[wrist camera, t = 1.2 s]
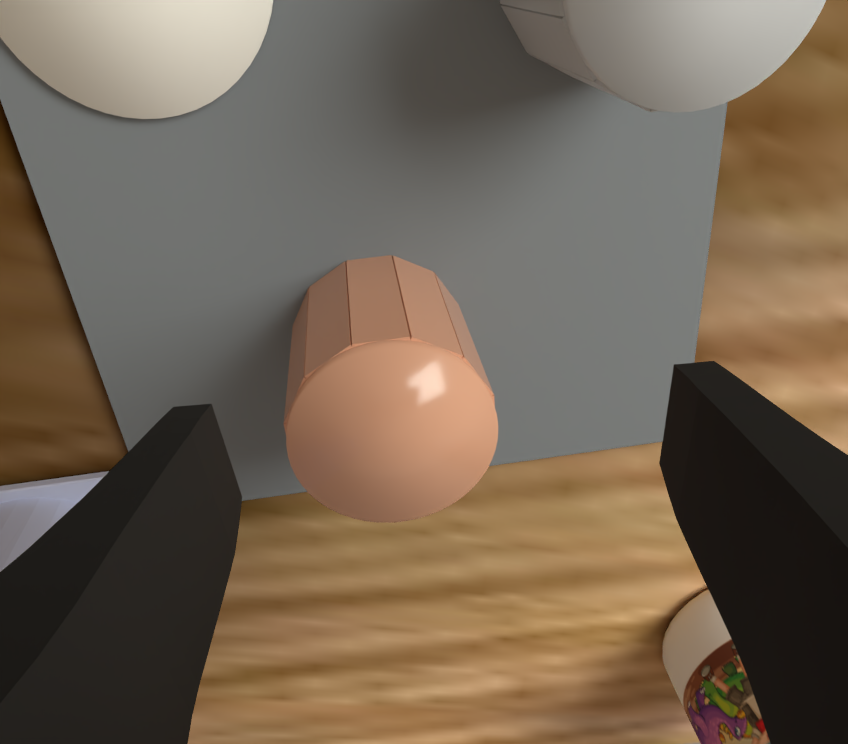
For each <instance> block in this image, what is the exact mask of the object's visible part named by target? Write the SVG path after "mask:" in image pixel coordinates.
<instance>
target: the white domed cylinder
mask: <svg viewBox="0 0 848 744" xmlns="http://www.w3.org/2000/svg"><path fill="white" fill-rule="evenodd" d="M825 1H826V0H500V4H502V5H501V7H502V9H503V11H504V13H505V14H506V16H507V18H508V20H509V21H510V23H511V25H512V27H513V29H514V30H515V32H516V34H517V36H518V38H519V39H520V41H521V43H522V45H523V47H524V48H525V50H526V52H527V53H528V54H529V55H531V56H533V57H535V58H537V59H539V60H541V61H543V62H544V63H546V64H548V65H550V66H552V67H554V68H556V69H558V70H559V71H561V72H563V73H565V74H567V75H569V76H571V77H573V78H575V79H577V80H580V81H582V82H584V83H586V84H589V85H591V86H593V87H595V88H597V89H600V90H602V91H604V92H606V93H609V94H611V95H613V96H615V97H618V98H620V99H622V100H624V101H626V102H629V103H631V104H633V105H635V106H638V107H640V108H642V109H644V110H646V111H650V112H655V111H666V112H692V111H698V110H703V109H708V108H711V107H715V106H718V105H721V104H724V103H726V102H728V101H730V100H733V99H735V98H737V97H739V96H741V95H743V94H744V93H746V92H748V91H749V90H751V89H753V88H754V87H756V86H757V85H758V84H760V83H761V82H762V81H764V80H765V79H766V78H768V77H769V76H770V75H771V74H772V73H774V72H775V71H776V70H777V69H778V68H779V67H780V66H781V65H782V64H783V63H784V62H785V61H786V60H787V59H788V58H789V57H790V55H791V54H792V53H793V52H794V51H795V50H796V48H797V47H798V46H799V45H800V43H801V42H802V41H803V39H804V38H805V36H806V35H807V34H808V32H809V31H810V29H811V28H812V26H813V24H814V22H815V21H816V19H817V17H818V15H819V14H820V12H821V10H822V8H823V6H824V4H825Z"/></svg>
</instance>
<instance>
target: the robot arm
mask: <svg viewBox="0 0 848 744" xmlns="http://www.w3.org/2000/svg"><path fill="white" fill-rule="evenodd" d="M660 467H661V470H662V473H663V477H664V480H665V484H666V487H667V490H668V494H669V497H670V500H671V503H672V506H673V510H674V513H675V516H676V519H677V521H678V524H679V526H680V528H681V530H682V533H683V535H684V537H685V539H686V541H687V544H688V546H689V548H690V550H691V552H692V555H693V557H694V559H695V561H696V563H697V566H698V568H699V570H700V572H701V574H702V576H703V579H704V581H705V583H706V585H707V587H708V589H709V591H710V594H711V596H712V598H713V600H714V602H715V604H716V607H717V609H718V611H719V613H720V615H721V617H722V619H723V622H724V624H725V626H726V628H727V630H728V632H729V635H730V637H731V639H732V641H733V643H734V645H735V648H736V650H737V652H738V655H739V657H740V660H741V662H742V664H743V667H744V669H745V672H746V674H747V677H748V679H749V682H750V685H751V688H752V691H753V694H754V697H755V700H756V703H757V706H758V708H759V711H760V714H761V717H762V720H763V723H764V726H765V729H766V732H767V734H768V737H769V740H770V743H771V744H848V455H847V454H845V453H844V452H842V451H841V450H839V449H838V448H836V447H835V446H833V445H832V444H830V443H829V442H827V441H826V440H824V439H823V438H821V437H820V436H818V435H817V434H815V433H814V432H813V431H811V430H810V429H808V428H807V427H805V426H804V425H803V424H801V423H800V422H798V421H797V420H795V419H794V418H793V417H791V416H790V415H788V414H787V413H786V412H784V411H783V410H781V409H780V408H779V407H777V406H776V405H775V404H773V403H772V402H771V401H769V400H768V399H766V398H765V397H764V396H762V395H761V394H760V393H758V392H757V391H755V390H754V389H753V388H751V387H750V386H749V385H747V384H746V383H744V382H743V381H742V380H740V379H739V378H738V377H736V376H735V375H733V374H732V373H731V372H729V371H728V370H726V369H725V368H723V367H722V366H720V365H719V364H718V363H716V362H714V361H709V362H697V363H686V364H674V367H673V374H672V381H671V387H670V394H669V401H668V408H667V415H666V422H665V429H664V436H663V443H662V449H661V456H660ZM241 503H242V495H241V492H240V489H239V486H238V483H237V480H236V476H235V473H234V470H233V467H232V464H231V461H230V458H229V455H228V452H227V449H226V446H225V443H224V440H223V437H222V434H221V431H220V428H219V425H218V422H217V419H216V416H215V413H214V410H213V406H212V404H201V405H189V406H177V407H173V408H172V409H171V410H170V411H168V412H167V413H166V414H165V415H164V416H163V417H162V418H161V419H160V420H159V421H158V422H157V423H156V424H155V425H154V426H153V427H152V428H151V429H150V430H149V431H148V432H147V433H146V434H145V435H144V436H143V437H142V439H141V440H140V441H139V442H138V443H137V444H136V445H135V446H134V447H133V448H132V449H131V450H130V451H129V452H128V453H127V454H126V455H125V456H124V457H123V458H122V459H121V460H120V461H119V462H118V463H117V464H116V465H115V466H114V467H113V468H112V469H111V470H110V471H106V472H99V473H92V474H84V475H77V476H70V477H62V478H55V479H48V480H41V481H33V482H26V483H19V484H11V485H4V486H0V744H187V743H188V737H189V731H190V725H191V719H192V714H193V710H194V705H195V701H196V697H197V692H198V688H199V684H200V680H201V677H202V673H203V669H204V666H205V662H206V659H207V655H208V651H209V648H210V644H211V640H212V637H213V633H214V630H215V626H216V622H217V619H218V615H219V611H220V608H221V604H222V601H223V597H224V593H225V589H226V586H227V582H228V578H229V574H230V571H231V567H232V563H233V559H234V555H235V549H236V542H237V535H238V528H239V520H240V511H241Z"/></svg>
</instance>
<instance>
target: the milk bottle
mask: <svg viewBox="0 0 848 744" xmlns="http://www.w3.org/2000/svg"><path fill="white" fill-rule="evenodd" d="M663 663H664V666H665V669H666V671H667V673H668V675H669V678H670V680H671V682H672V684H673V687H674V689H675V691H676V693H677V695H678V697H679V699H680V701H681V703H682V705H683V708H684V710H685V712H686V714H687V716H688V718H689V720H690V722H691V724H692V726H693V728H694V730H695V732H696V735H697V737H698V739H699V741H700V743H701V744H771V743H770V740H769V737H768V734H767V732H766V729H765V726H764V723H763V720H762V717H761V714H760V711H759V708H758V706H757V703H756V700H755V697H754V694H753V691H752V688H751V685H750V682H749V679H748V677H747V674H746V672H745V669H744V667H743V664H742V662H741V660H740V657H739V655H738V652H737V650H736V648H735V645H734V643H733V641H732V639H731V637H730V635H729V632H728V630H727V628H726V626H725V624H724V622H723V619H722V617H721V615H720V613H719V611H718V609H717V607H716V604H715V602H714V600H713V598H712V596H711V594H710V591H709V589H708V590H706V591H704V592H702V593H701V594H699V595H698V596H697V597H695V598H694V599H692V600H691V601H689V602H688V603H687V604H686V605H685V606H684V607H683V608H682V609H681V610H680V611H679V612H678V613H677V614H676V616H675V617H674V618H673V620H672V621H671V622H670V624H669V626H668V628H667V630H666V632H665V636H664V640H663Z"/></svg>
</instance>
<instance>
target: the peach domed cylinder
mask: <svg viewBox="0 0 848 744" xmlns="http://www.w3.org/2000/svg"><path fill="white" fill-rule="evenodd" d="M284 428H285V433H286V446H287V454H288V458H289V461H290V465H291V467H292V469H293V472H294V474H295V476H296V477H297V479H298V480H299V482H300V483H301V485H302V486H303V487H304V488H305V489H306V491H307V492H308V493H309V494H310V495H311V496H312V497H314V498H315V499H316V500H317V501H319V502H320V503H321V504H323V505H325V506H326V507H328V508H329V509H331V510H333V511H335V512H338V513H340V514H342V515H345V516H348V517H351V518H354V519H359V520H364V521H371V522H401V521H408V520H413V519H418V518H421V517H424V516H428V515H430V514H433V513H435V512H438V511H440V510H442V509H444V508H446V507H448V506H449V505H451V504H453V503H454V502H456V501H457V500H459V499H460V498H462V497H463V496H464V495H465V494H466V493H468V492H469V491H470V490H471V489H472V488H473V487H474V486H475V485H476V484H477V482H478V481H479V480H480V479H481V477H482V476H483V475H484V473H485V472H486V470H487V468H488V466H489V465H490V463H491V461H492V458H493V455H494V453H495V450H496V445H497V440H498V419H497V413H496V410H495V400H494V394H493V391H492V388H491V386H490V383H489V381H488V378H487V376H486V373H485V371H484V368H483V365H482V363H481V360H480V358H479V355H478V353H477V350H476V348H475V345H474V343H473V340H472V337H471V335H470V332H469V330H468V327H467V325H466V322H465V320H464V317H463V315H462V312H461V309H460V307H459V304H458V303H457V302H456V300H455V299H454V298H453V296H452V295H451V294H450V292H449V291H448V290H447V288H446V287H445V286H444V284H443V283H442V282H441V280H440V279H439V278H438V276H437V275H436V274H435V272H433V271H431V270H428V269H426V268H423V267H421V266H418V265H416V264H413V263H411V262H408V261H406V260H404V259H401V258H399V257H396V256H394V255H393V256H392V255H388V256H379V257H371V258H363V259H355V260H346V262H345V261H344V262H343V263H342V264H340V265H339V266H337V267H336V268H335V269H333V270H332V271H330V272H329V273H328V274H326V275H325V276H324V277H322V278H321V279H319V280H318V281H317V282H315V283H314V284H312V285H311V286H310V287H309V288H308V290H307V292H306V295H305V297H304V300H303V302H302V304H301V307H300V309H299V312H298V314H297V316H296V319H295V321H294V324H293V328H292V339H291V350H290V360H289V371H288V382H287V393H286V404H285V414H284Z"/></svg>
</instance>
